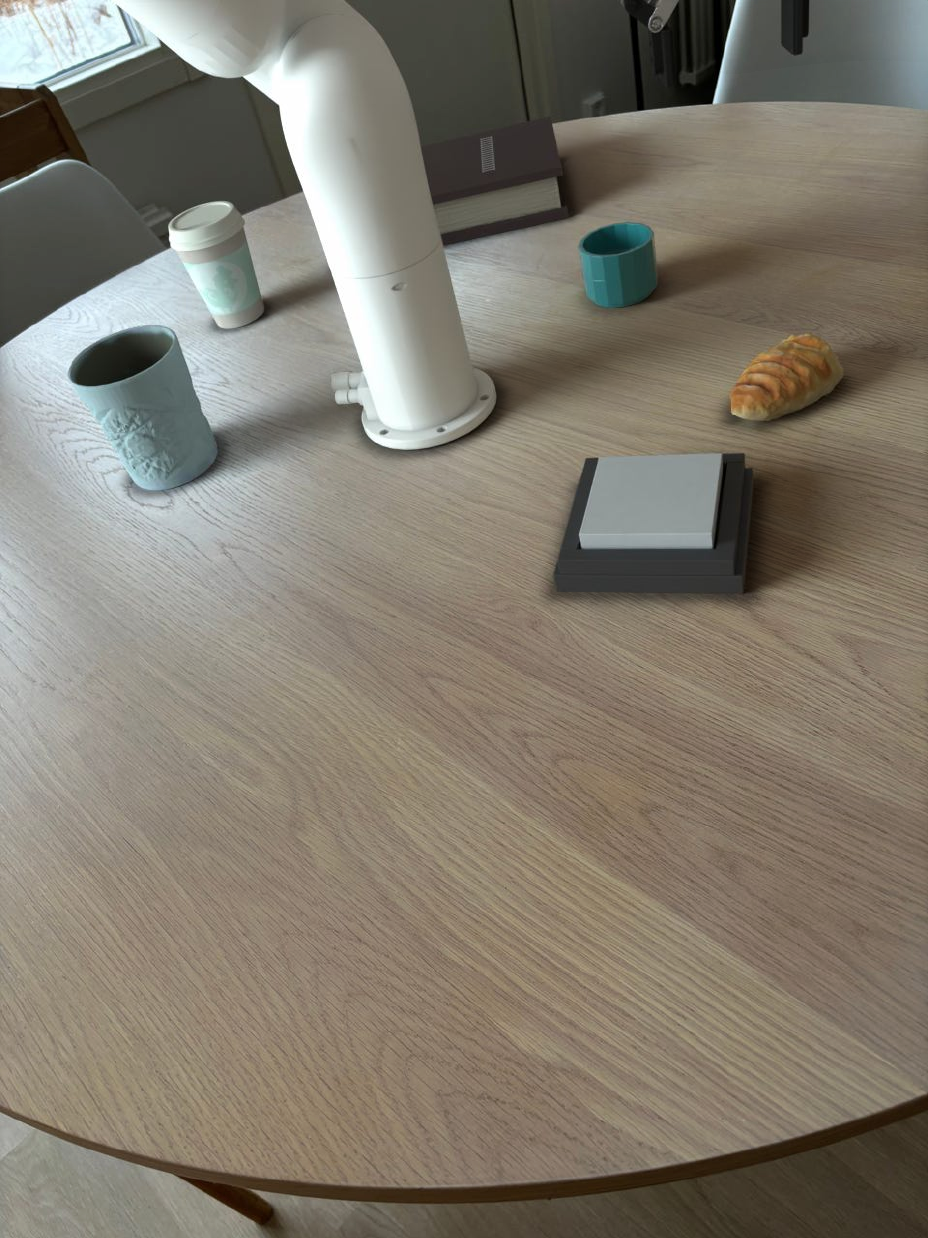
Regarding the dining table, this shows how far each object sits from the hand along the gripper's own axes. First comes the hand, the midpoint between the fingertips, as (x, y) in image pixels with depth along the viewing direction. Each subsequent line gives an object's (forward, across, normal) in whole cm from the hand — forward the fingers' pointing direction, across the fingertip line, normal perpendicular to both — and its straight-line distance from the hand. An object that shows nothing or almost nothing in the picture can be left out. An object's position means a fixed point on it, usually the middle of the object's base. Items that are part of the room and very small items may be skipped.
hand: (729, 66), depth 78 cm
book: (+22, +24, -43) cm, 54 cm away
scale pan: (+19, +13, +27) cm, 36 cm away
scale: (+22, +13, +27) cm, 37 cm away
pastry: (+22, -1, +13) cm, 26 cm away
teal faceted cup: (+22, +9, -11) cm, 26 cm away
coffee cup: (+22, +51, -28) cm, 62 cm away
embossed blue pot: (+22, +54, +2) cm, 59 cm away
